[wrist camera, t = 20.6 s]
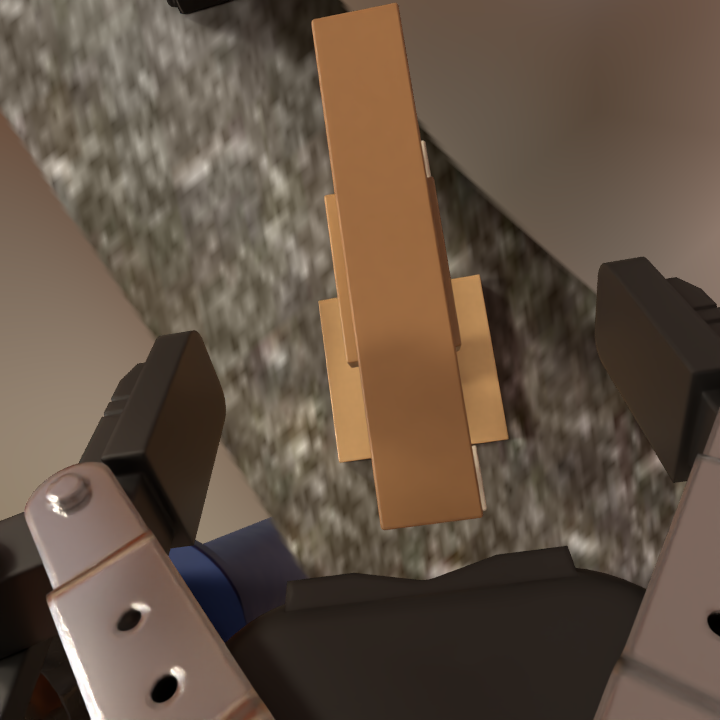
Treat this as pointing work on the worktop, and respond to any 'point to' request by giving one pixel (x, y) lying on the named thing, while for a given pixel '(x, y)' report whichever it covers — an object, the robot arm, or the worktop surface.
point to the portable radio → (193, 4)
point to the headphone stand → (469, 344)
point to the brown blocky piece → (395, 274)
